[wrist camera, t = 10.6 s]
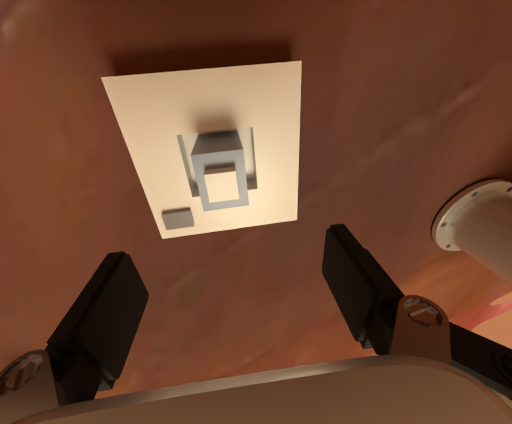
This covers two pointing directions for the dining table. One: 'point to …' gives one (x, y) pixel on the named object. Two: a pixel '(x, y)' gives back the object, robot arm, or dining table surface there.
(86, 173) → the dining table surface
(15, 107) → the dining table surface
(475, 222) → the robot arm
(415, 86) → the dining table surface
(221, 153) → the plug
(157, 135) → the socket plate
